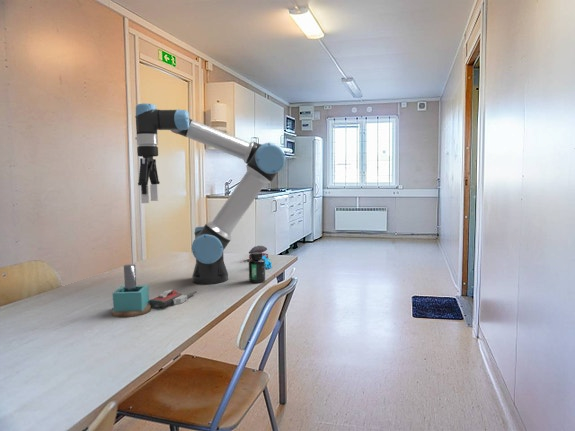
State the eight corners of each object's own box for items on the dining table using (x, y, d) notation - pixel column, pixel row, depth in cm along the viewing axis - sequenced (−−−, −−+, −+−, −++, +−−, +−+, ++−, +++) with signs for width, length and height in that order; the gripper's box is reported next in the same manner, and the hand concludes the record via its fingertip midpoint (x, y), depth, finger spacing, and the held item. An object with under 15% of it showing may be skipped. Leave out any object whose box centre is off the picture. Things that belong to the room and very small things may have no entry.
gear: (265, 267, 203) (253, 251, 207) (257, 276, 205) (245, 259, 209) (277, 266, 213) (265, 250, 217) (269, 274, 215) (257, 258, 219)
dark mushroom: (250, 270, 227) (241, 253, 226) (257, 264, 236) (248, 248, 236) (268, 261, 223) (259, 244, 222) (275, 255, 232) (265, 239, 232)
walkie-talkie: (167, 312, 147) (199, 295, 166) (166, 299, 147) (198, 284, 165) (145, 309, 150) (178, 294, 169) (144, 296, 150) (178, 282, 168)
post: (138, 305, 149) (136, 264, 148) (135, 308, 145) (133, 266, 144) (127, 305, 149) (125, 264, 147) (124, 308, 145) (122, 266, 144)
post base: (154, 305, 154) (154, 301, 153) (145, 316, 142) (145, 312, 141) (119, 306, 153) (119, 302, 153) (107, 317, 141) (106, 313, 141)
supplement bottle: (255, 284, 180) (254, 255, 179) (245, 281, 185) (245, 253, 184) (268, 281, 185) (268, 253, 184) (258, 278, 190) (258, 251, 189)
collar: (149, 302, 152) (148, 285, 151) (142, 310, 143) (141, 292, 142) (122, 303, 151) (121, 286, 151) (113, 311, 142) (112, 293, 142)
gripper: (146, 147, 180) (148, 200, 182) (127, 144, 155) (130, 204, 157) (164, 147, 180) (167, 199, 182) (149, 143, 155) (152, 204, 157)
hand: (150, 202), depth 170 cm, fingers open, 13 cm apart
